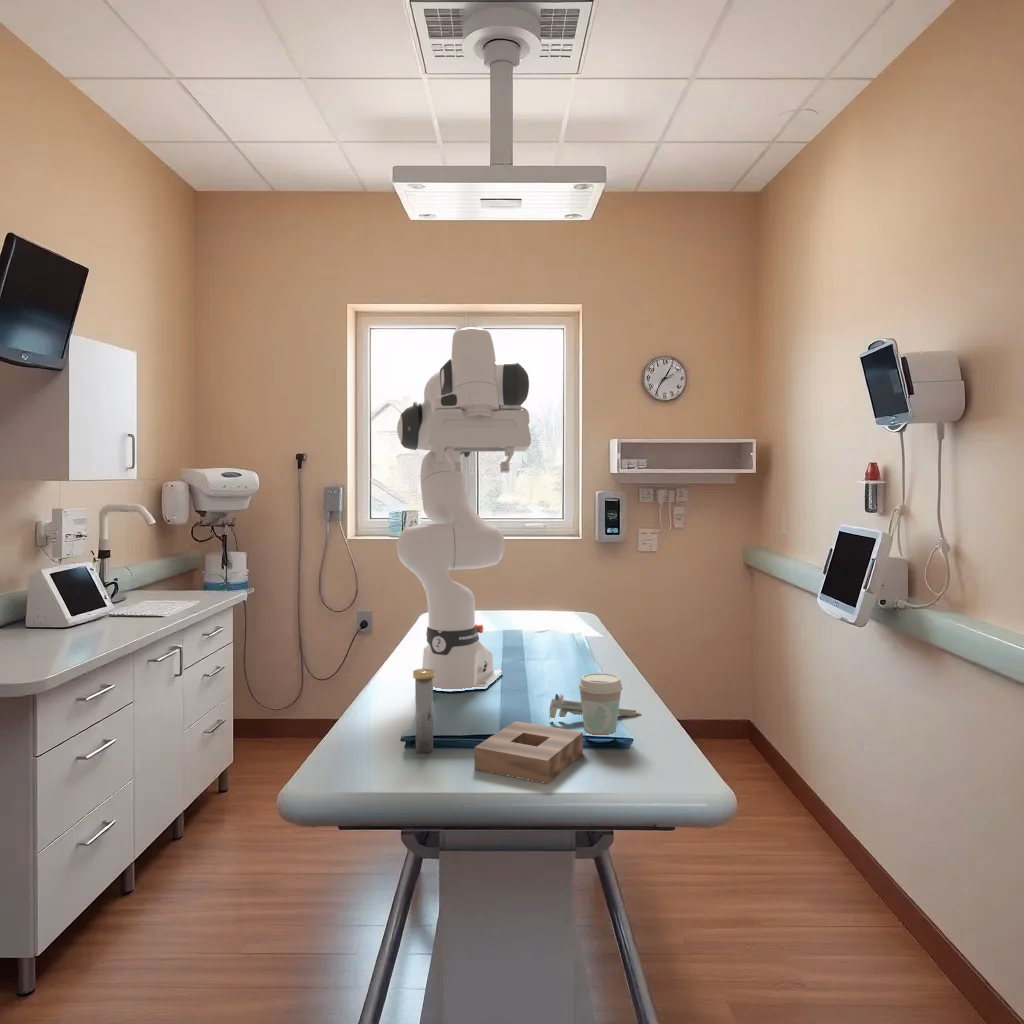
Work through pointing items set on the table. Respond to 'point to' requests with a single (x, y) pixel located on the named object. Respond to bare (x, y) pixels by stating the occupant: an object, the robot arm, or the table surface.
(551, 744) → the walnut block
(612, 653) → the table surface
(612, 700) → the coffee cup
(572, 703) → the caliper
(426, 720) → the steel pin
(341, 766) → the table surface
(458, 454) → the robot arm
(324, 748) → the table surface
